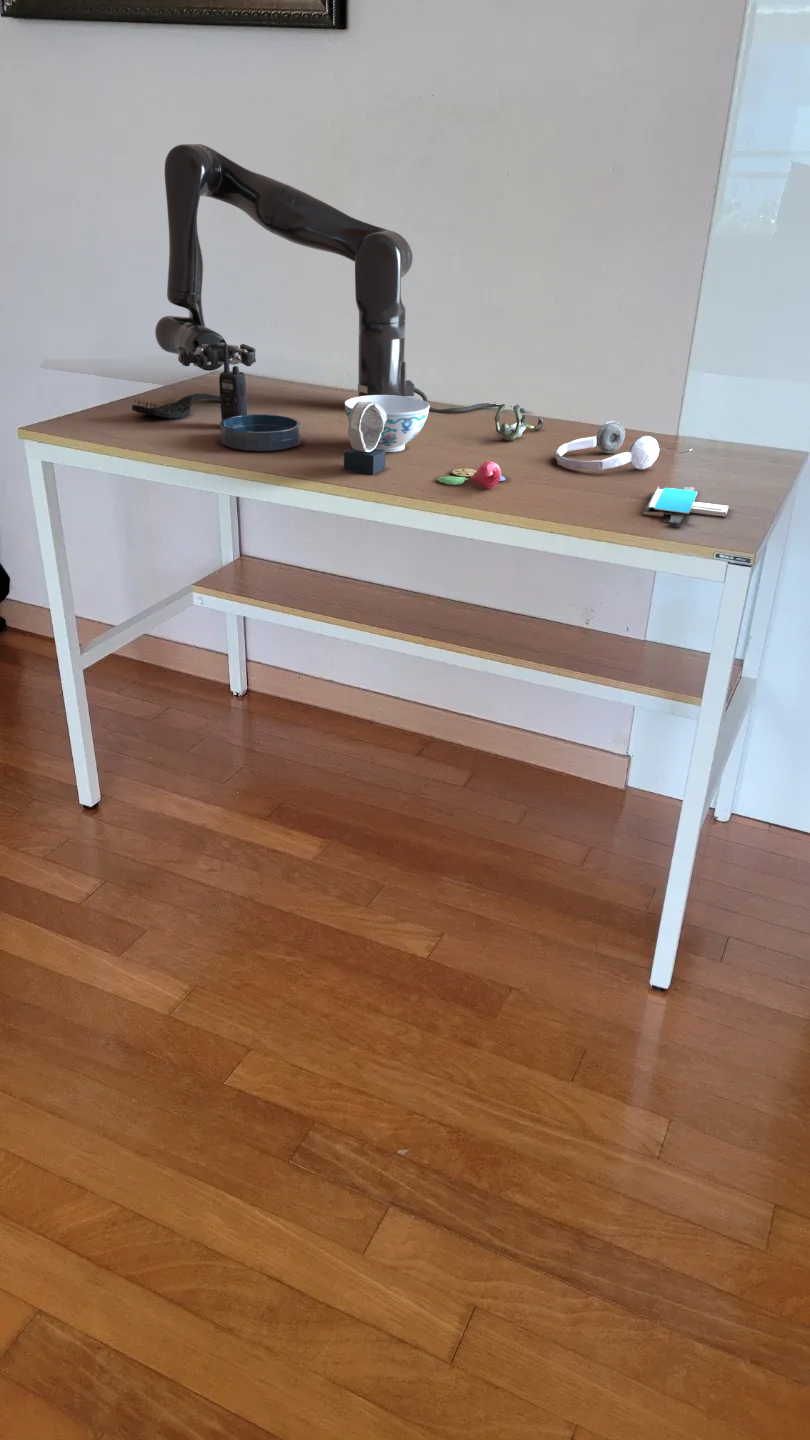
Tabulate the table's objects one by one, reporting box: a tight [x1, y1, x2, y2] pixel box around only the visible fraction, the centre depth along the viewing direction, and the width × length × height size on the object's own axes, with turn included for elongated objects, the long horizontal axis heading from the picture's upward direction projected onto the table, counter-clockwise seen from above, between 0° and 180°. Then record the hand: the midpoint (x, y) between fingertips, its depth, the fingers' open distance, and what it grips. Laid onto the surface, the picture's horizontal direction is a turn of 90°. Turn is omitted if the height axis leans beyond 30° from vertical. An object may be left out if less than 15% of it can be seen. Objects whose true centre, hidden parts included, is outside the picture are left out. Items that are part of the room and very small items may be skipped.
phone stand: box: [642, 485, 729, 528], centre depth 164 cm, size 20×12×2 cm, turn 160°
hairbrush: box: [131, 392, 220, 419], centre depth 212 cm, size 8×4×25 cm
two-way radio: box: [218, 343, 248, 421], centre depth 199 cm, size 6×4×15 cm
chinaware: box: [344, 395, 431, 453], centre depth 190 cm, size 15×15×8 cm
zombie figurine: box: [494, 404, 544, 442], centre depth 201 cm, size 5×7×15 cm
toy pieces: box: [436, 460, 506, 489], centre depth 174 cm, size 12×11×4 cm
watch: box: [343, 401, 387, 476], centre depth 177 cm, size 6×8×11 cm
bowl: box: [219, 413, 302, 452], centre depth 192 cm, size 14×14×4 cm
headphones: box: [555, 421, 693, 471], centre depth 186 cm, size 17×6×20 cm
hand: (227, 361), depth 201 cm, fingers open, 8 cm apart
